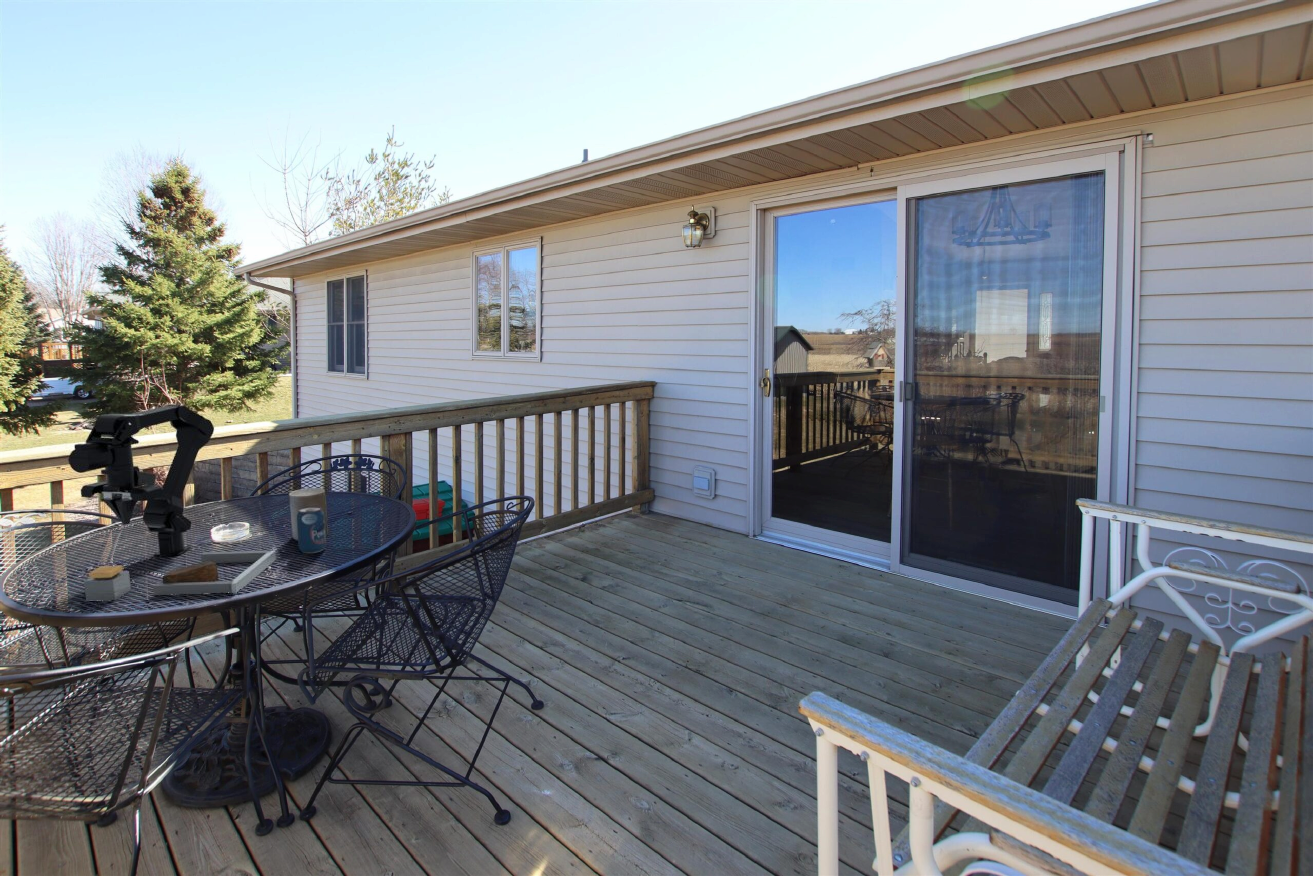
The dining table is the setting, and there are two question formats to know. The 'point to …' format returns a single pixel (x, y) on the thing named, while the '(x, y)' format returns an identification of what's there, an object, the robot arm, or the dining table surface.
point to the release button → (105, 572)
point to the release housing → (107, 587)
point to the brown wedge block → (193, 573)
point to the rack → (261, 563)
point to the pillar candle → (306, 505)
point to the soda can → (311, 529)
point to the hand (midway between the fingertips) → (126, 523)
